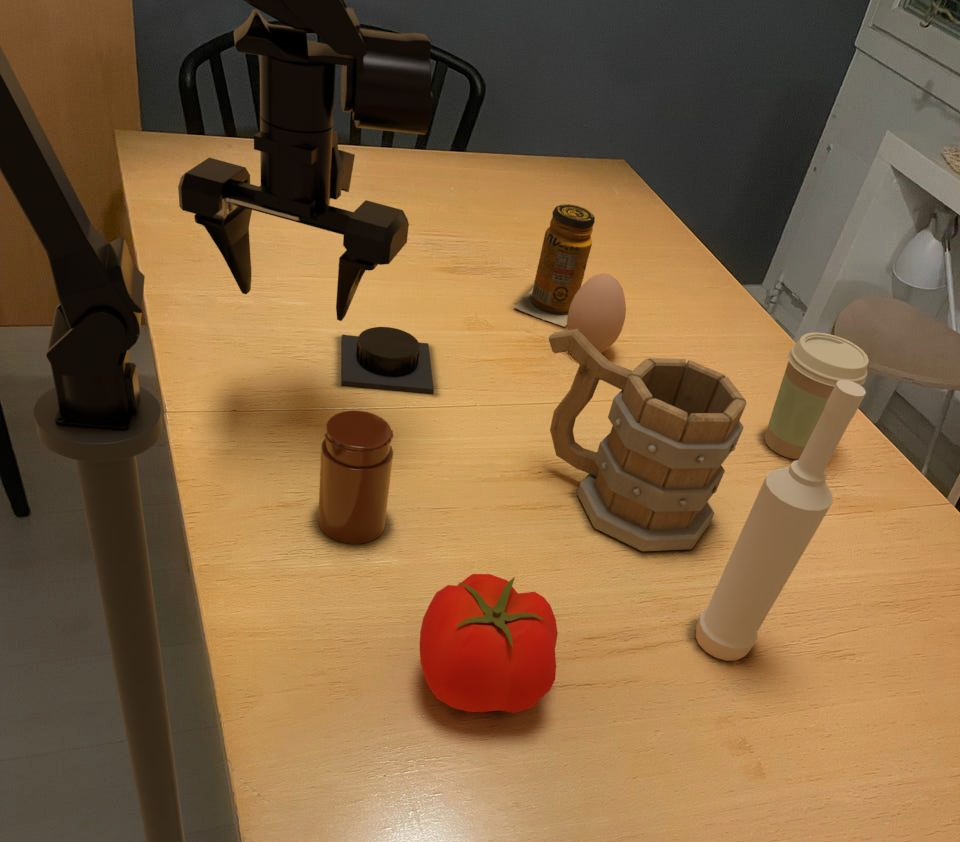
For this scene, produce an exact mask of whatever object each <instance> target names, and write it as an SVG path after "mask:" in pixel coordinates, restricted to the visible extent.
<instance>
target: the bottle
mask: <svg viewBox="0 0 960 842" xmlns="http://www.w3.org/2000/svg"><path fill="white" fill-rule="evenodd" d="M866 392H867V391H866V389H865V388H864V387H863V386H862V385H859V384H857V383H855V382H852V381H848V380H839V381H838V382H837V383H836V385H835V387H834V389H833V391H832V393H831V395H830V397H829V399H828V401H827V403H826V405H825V409H824V411H823V413H822V415H821V417H820V419H819V421H818V423H817V425H816V427H815V429H814V431H813V433H812V435H811V437H810V438H809V440H808V442H807V444H806V446H805V448H804V450H803V452H802V454H801V456H800V458H799V460H797V459H795V460H794V461H792V462H791V463H790V465H789V466H788V465H787V466H784V467H779V468H776V469H773V470H770V471H769V472H768V473H767V474H766V476H765V478H764V479H763V482H762V484H761V486H760V489H759V491H758V493H757V496H756V498H755V499H754V502H753V505H752V507H751V509H750V511H749V513H748V516H747V517H746V520H745V522H744V524H743V528H742V529H741V531H740V533H739V536H738V539H737V540H736V543H735V544H734V547H733V549H732V551H731V554H730V556H729V558H728V561H727V563H726V565H725V566H724V569H723V571H722V574H721V576H720V579H719V580H718V583H717V585H716V587H715V590H714V591H713V594H712V596H711V599H710V601H709V602H708V606H707V607H706V608H705V609H704V610H703V611H702V612H701V614H700V615H699V617H698V620H697V622H696V625H695V639H696V641H697V644H698V646H699V647H700V648H701V649H702V650H703V651H704V652H705V653H707V654H708V655H709V656H712V657H714V658H715V659H719V660H722V661H728V662H729V661H737V660H740V659H742V658H744V657H746V656H747V655H748V654H749V652H750V651H751V649H752V648H753V647H754V646H755V644H756V642H757V640H758V632H759V630H760V629H761V627H762V625H763V623H764V622H765V620H766V619H767V617H768V615H769V613H770V611H771V610H772V608H773V606H774V604H775V603H776V601H777V599H778V597H779V596H780V593H781V592H782V591H783V589H784V587H785V586H786V583H787V582H788V580H789V578H790V577H791V576H792V573H793V571H794V570H795V569H796V567H797V565H798V563H799V561H800V560H801V558H802V556H803V554H804V553H805V551H806V550H807V547H808V546H809V544H810V543H811V540H812V539H813V537H814V535H816V533H817V530H818V529H819V527H820V525H821V524H822V522H823V520H824V518H825V516H826V515H827V513H828V512H829V510H830V509H831V506H832V505H833V503H834V497H833V496H834V495H833V492H832V491H831V489H830V487H829V485H828V483H827V481H826V479H827V473H826V469H827V467H828V465H829V463H830V461H831V459H832V457H833V456H834V453H835V451H836V449H837V448H838V445H839V443H840V442H841V440H842V438H843V436H844V435H845V432H846V430H847V428H848V426H849V424H850V423H851V421H852V419H853V418H854V417H855V415H856V412H857V411H858V409H859V408H860V405H861V403H862V402H863V400H864V398H865V396H866V394H867V393H866Z"/></svg>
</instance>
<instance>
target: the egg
mask: <svg viewBox="0 0 960 842" xmlns="http://www.w3.org/2000/svg"><path fill="white" fill-rule="evenodd" d="M626 304H627V303H626V296H625V293H624V289H623V287H622V284H621V283H620V282H619V280H618V279H617V278H616V277H614V276H613V275H612V274H610V273H598V274H595V275H592V276H591V277H590V278H588V279H587V280H586V281H585V282H584V283H582V285H581V287H580V289H579V290H578V291H577V293H576V294H575V296H574V298H573V300H572V302H571V305H570V309H569V312H568V317H567V325H566V326H567V327H566V328H567V330H573V329H578V330H579V331H580V332H581V333H582V334H583V335H584V336H585V337H586V339H587V340H588V341H589V342H590V343H591V344H592V345H593V346H594V347H595V348H596V349H597V350H598V351H599V352H600V353H602V352H603V353H604V352H605V351H607V350H608V349H609V348H611V346H613V345H614V344H615V343H616V341H617V340H618V338H619V337H620V335H621V333H622V331H623V327H624V324H625V321H626V313H627V306H626Z"/></svg>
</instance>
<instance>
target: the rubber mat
mask: <svg viewBox="0 0 960 842" xmlns="http://www.w3.org/2000/svg"><path fill="white" fill-rule="evenodd" d="M358 337H359V335H350V334H341V350H340V351H341V352H340V353H341V355H340V356H341V358H340V359H341V364H340V365H341V368H340V369H341V370H340V371H341V372H340V373H341V375H340V376H341V378H340V381H341V382H340V384H341V386H344V387H355V388H365V389H377V390H378V389H379V390H387V391H388V390H389V391H397V392H409V393H410V392H412V393H420V394H421V393H422V394H432V395H433V394H434V393H435V392H434V391H435V387H434V386H435V385H434V380H433V370H432V363H431V355H430V347H429V346H430V345H429V343H428V342H420V341H418V342H419V350H420V352H419V360H418V364H417V368H416V369H415V370H414V371H413V372H412V373H410V374H408V375H404V376H399V377H388V376H382V375H378V374H374V373H372V372H370V371H368V370H366V369H364V368H363V367H362V366H361V365H360V364H359V363H358V360H357V356H356V351H357V342H358Z"/></svg>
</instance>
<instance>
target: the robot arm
mask: <svg viewBox="0 0 960 842" xmlns="http://www.w3.org/2000/svg"><path fill="white" fill-rule="evenodd" d="M243 2H245V3H247V4H248V5H249V6H251V7H253V9H252V11H251V13H250V15H249V16H248V18H247V19H246V20H245V21H244V22H243V23H241V24H240V25H239V26H238V27H236V28H235V29H234V30H233V40H234V47H235V50H236V51H237V52H238V53H240V54H247V55H256V56H259V132H257V133H256V134H254V135H253V150H254V151H258V152H260V153H259V154H260V155H259V156H260V157H259V158H260V163H259V164H260V185H256V184H252V183H251V174H250V173H249V171H248V169H247V167H245V166H242V165H239V164H235V163H232V162H231V163H230V162H227V161H224V160H219V159H217V158H213V157H208V158H206V159H204V160H202V161H201V162H200V163H198V164H197V165H195V166H194V167H192V168H191V169H189V170H188V171H186V172H184V173H183V175H181V176H180V179H179V182H178V186H177V189H178V203H179V205H178V206H179V208H180V209H181V210H182V211H184V212H187V213H191V214H194V216H193V217H194V222H195V223H196V224H198V225H201V226H203V227H204V229H205V230H206V231H207V233H208V235H209V237H210V238H211V240H212V241H213V243H214V245H215V246H216V247H217V249H218V250H219V252H220V254H221V255H222V257H223V259H224V261H225V263H226V265H227V267H228V269H229V271H230V273H231V274H232V277H233V279H234V281H235V282H236V284H237V286H238V289H239V290H240V293H241V294H243V295H248V294H249V293H250V291H251V289H252V260H251V259H252V258H251V257H252V256H251V244H250V222H251V217H252V212H253V211H254V212H259V213H262V214H265V215H270V216H272V217H276V218H280V219H283V220H288V221H291V222H295V223H297V224H298V223H299V224H302V225H305V226H309V227H312V228H318V229H320V230H324V231H327V232H331V233H335V234H338V235H342V236H343V242H342V246H343V247H344V249H345V251H344V252H343V253H342V254H341V255H340V256H339V257H338V270H337V284H336V285H337V286H336V287H337V288H336V300H335V301H336V303H335V313H336V320H337V321H339V322H342V321H343V320H344V318H346V316H347V313H348V310H349V308H350V305H351V304H352V301H353V299H354V297H355V294H356V292H357V290H358V287H359V285H360V283H361V280H362V278H363V276H364V274H365V272H366V271H369V272H371V271H373V270H375V269H376V267H377V266H378V265H380V266H384V265H390V263H391V262H392V261H393V260H394V259H395V258H396V256H397V255H398V254H399V253H400V251H402V249H403V248H404V247H405V245H407V243H408V237H409V236H408V234H409V226H410V222H409V219H408V217H407V216H406V215H407V214H406V213H405V212H404V210H403V209H401V208H396V207H393V206H390V205H385V204H382V203H379V202H375V201H371V200H367V199H365V200H364V201H363V202H362V203H361V204H360V205H359V206H358V207H357V208H356V209H355V210H354V211H350V210H347V209H343V208H341V207H336V206H333V205H331V204H330V203H331V199H332V200H338V199H339V198H340V197H341V196H342V191H343V192H345V193H349V192H350V189H351V181H352V176H353V169H354V162H355V158H356V157H355V156H356V154H355V153H352V152H348V151H345V150H341V149H339V136H338V131H337V130H334V115H335V113H334V111H335V109H334V108H335V88H336V69H337V68H336V66H337V65H338V66H341V71H340V104H341V111H342V112H343V113H351V112H352V113H351V114H352V115H351V116H352V121H354V126H355V127H356V128H357V129H367V130H374V131H375V130H376V131H377V130H378V131H386V132H395V133H404V134H414V135H421V136H422V135H426V134H427V132H428V130H429V126H430V123H431V117H432V111H433V104H434V103H433V102H434V95H433V92H432V65H431V52H432V43H431V41H430V40H429V38H428V36H427V34H425V33H420V32H404V33H399V32H398V33H397V32H389V31H382V30H375V29H369V28H368V29H367V28H361V24H360V22H359V19H358V17H357V15H356V13H355V10H354V8H352V7H348V5H347V4H346V2H345V0H243ZM261 12H262V13H264V14H265V15H267V16H268V17H269V16H270V17H271V18H273V19H274V20H277V21H278V22H280V23H282V24H284V25H280V24H272V23H269V22H268V21H267V20H266V19H265V18H264V17H263V15H262V14H261ZM308 31H312V32H313V33H314V34H315V35H316V36H317V37H318V38H320V39H321V40H322V41H323V42H324V43H322V42H318V41H314V40H310V39H308V34H307V32H308ZM51 144H52V143H50V140H49V138H48V136H47V135H46V132H45V130H44V129H43V126H42V124H41V123H40V121H39V119H38V117H37V115H36V113H35V111H34V109H33V107H32V105H31V103H30V102H29V99H28V97H27V96H26V93H25V91H24V89H23V88H22V86H21V83H20V82H19V80H18V78H17V76H16V74H15V72H14V70H13V68H12V66H11V64H10V62H9V60H8V58H7V56H6V55H5V53H4V50H3V49H2V46H0V173H1V175H2V177H3V179H4V180H5V182H6V184H7V185H8V187H9V189H10V191H11V193H12V194H13V196H14V198H15V200H16V201H17V203H18V205H19V207H20V209H21V210H22V212H23V214H24V217H26V219H27V221H28V223H29V225H30V226H31V228H32V230H33V232H34V233H35V235H36V237H37V238H38V241H39V242H40V244H41V246H42V247H43V250H44V251H45V253H46V256H47V259H48V263H49V266H50V270H51V271H50V272H51V274H52V278H53V283H54V287H55V290H56V295H57V299H58V302H59V303H58V304H57V305H56V306H55V311H54V316H53V321H52V325H51V330H50V336H49V340H48V344H47V351H46V358H47V360H48V362H49V363H50V369H51V374H52V378H53V385H54V387H55V390H56V395H57V400H58V405H59V410H58V413H57V415H56V418H55V423H56V425H58V426H65V427H78V428H91V429H103V430H116V431H127V430H129V428H130V425H131V421H132V418H133V416H135V415H136V414H137V411H138V408H139V404H140V391H139V386H140V383H139V375H138V366H137V364H136V363H135V362H131V359H130V352H129V350H131V349H132V347H134V345H136V344H137V342H138V340H139V337H140V335H141V325H142V324H141V323H142V313H143V306H144V305H143V304H144V293H145V277H146V276H145V274H144V273H142V272H141V270H139V268H138V267H137V266H136V264H135V263H134V261H133V259H132V256H131V253H130V250H129V247H128V243H127V241H126V237H124V236H120V237H118V238H116V239H114V240H112V241H108V239H106V238H105V237H104V235H102V233H100V232H99V231H98V230H97V229H96V227H94V225H93V223H92V222H91V221H90V219H89V216H88V215H87V212H86V210H85V209H84V207H83V205H82V203H81V201H80V199H79V197H78V194H77V192H76V191H75V189H74V187H73V185H72V184H71V181H70V179H69V177H68V176H67V173H66V172H65V170H64V167H63V166H62V164H61V162H60V160H59V158H58V156H57V154H56V151H55V150H54V148H53V146H52V145H51Z"/></svg>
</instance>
